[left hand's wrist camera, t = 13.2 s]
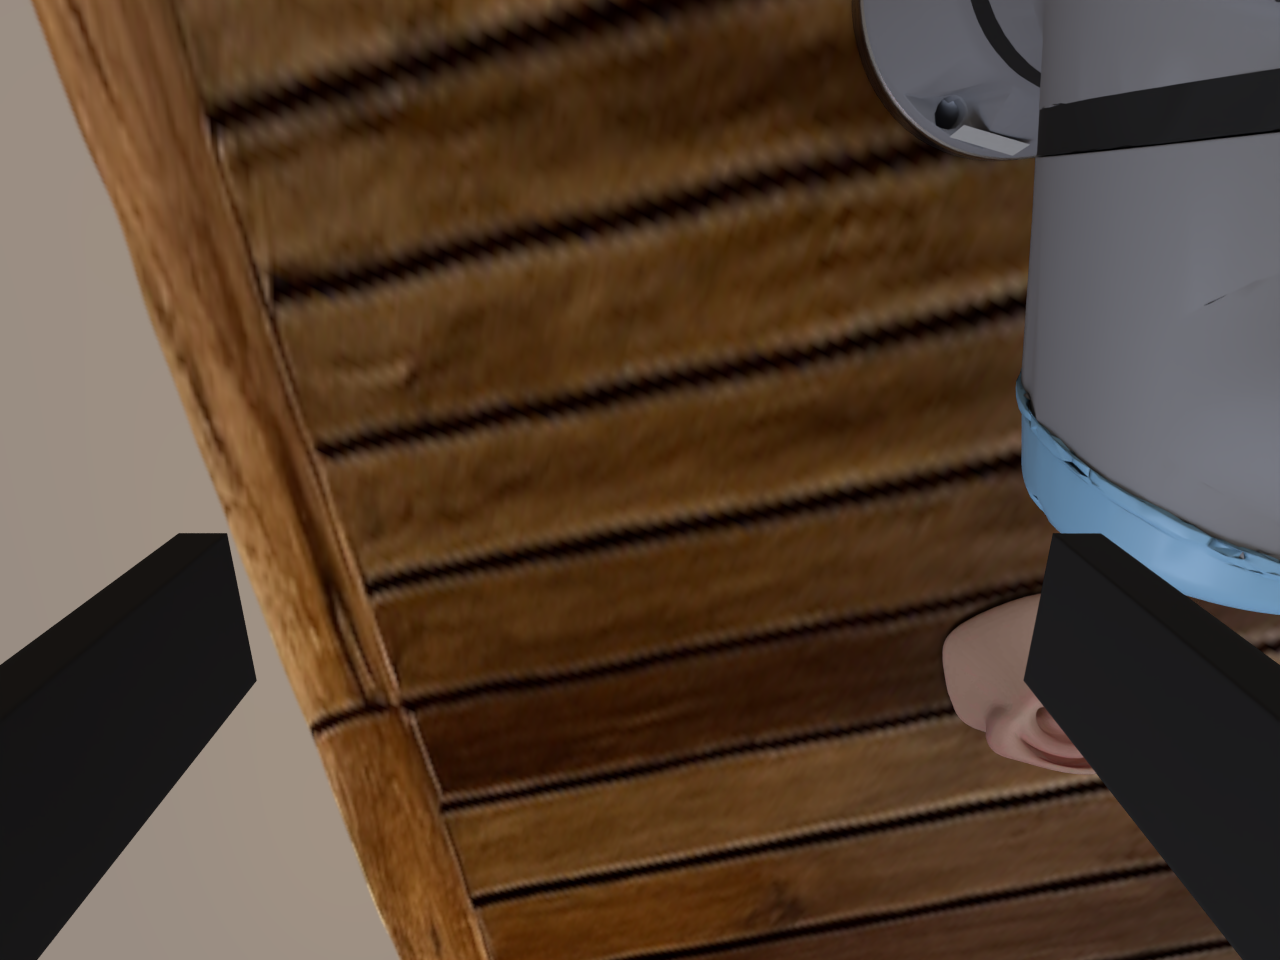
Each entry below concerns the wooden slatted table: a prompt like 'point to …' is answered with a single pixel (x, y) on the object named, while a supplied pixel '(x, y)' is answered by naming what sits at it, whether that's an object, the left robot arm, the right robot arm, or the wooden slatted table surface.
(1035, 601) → the anatomical model
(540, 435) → the wooden slatted table surface
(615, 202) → the wooden slatted table surface
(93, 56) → the wooden slatted table surface
